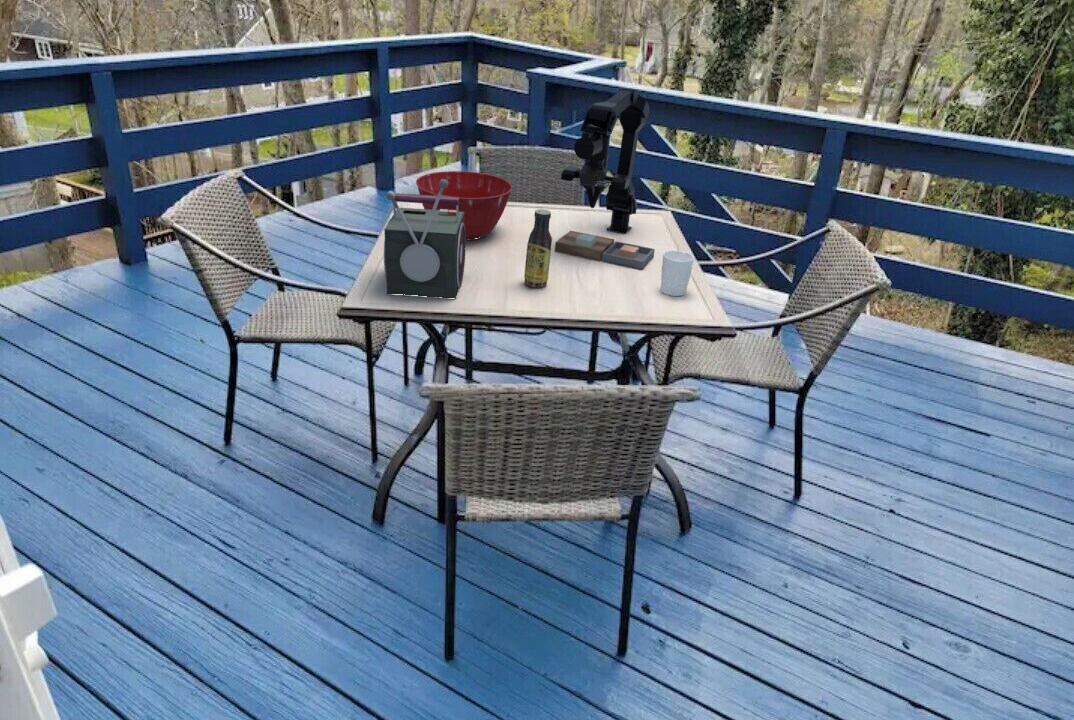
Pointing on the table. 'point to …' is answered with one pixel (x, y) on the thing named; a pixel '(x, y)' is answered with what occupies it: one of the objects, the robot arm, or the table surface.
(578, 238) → the sage tile
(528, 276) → the sauce bottle
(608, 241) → the walnut board
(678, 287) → the white cup
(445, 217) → the boombox
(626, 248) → the terracotta tile
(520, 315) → the table surface
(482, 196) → the mixing bowl
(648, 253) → the tray
